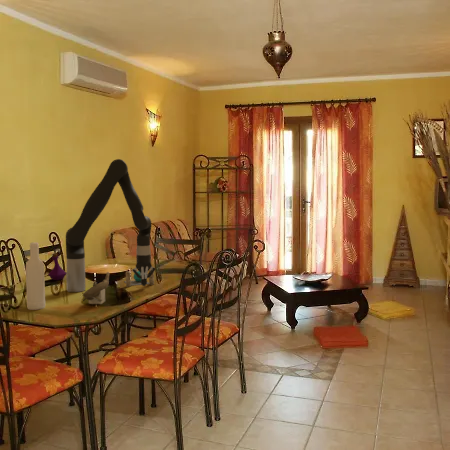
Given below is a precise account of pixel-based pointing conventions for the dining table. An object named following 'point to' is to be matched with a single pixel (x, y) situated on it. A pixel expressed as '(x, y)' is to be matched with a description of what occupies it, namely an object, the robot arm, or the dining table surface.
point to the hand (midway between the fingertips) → (143, 285)
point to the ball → (137, 277)
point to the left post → (128, 279)
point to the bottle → (35, 279)
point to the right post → (151, 279)
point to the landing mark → (135, 283)
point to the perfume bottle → (56, 268)
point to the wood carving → (97, 291)
